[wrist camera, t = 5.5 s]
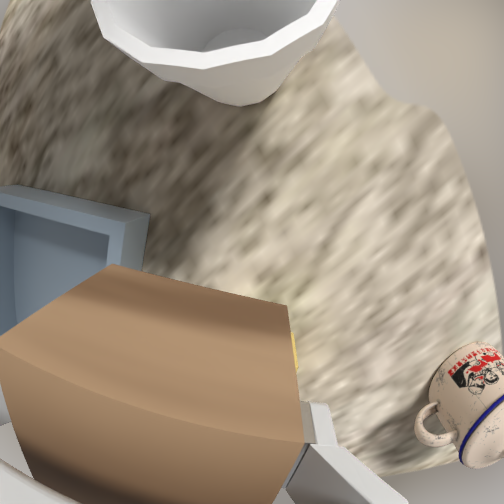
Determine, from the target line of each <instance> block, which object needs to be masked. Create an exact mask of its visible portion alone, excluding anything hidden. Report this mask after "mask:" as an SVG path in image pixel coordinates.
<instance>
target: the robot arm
mask: <svg viewBox="0 0 504 504" xmlns="http://www.w3.org/2000/svg"><path fill="white" fill-rule="evenodd" d="M300 408H301V416H302V424H303V433H304V441H305V443H304V445H303V447H302V449H301V451H300V453H299V455H298V457H297V459H296V461H295V463H294V465H293V467H292V469H291V471H290V472H289V474H288V476H287V478H286V480H285V482H284V483H283V485H282V487H281V488H286V491H287V493H288V494H289V495H290V497H291V498H292V500H293V501H294V502H295V504H408V501H407V500H406V499H405V498H404V497H403V496H401V495H400V494H399V493H397V492H396V491H395V490H394V489H393V488H392V487H390V486H389V485H388V484H387V483H385V482H384V481H383V480H382V479H381V478H380V477H378V476H377V475H376V474H375V473H374V472H372V471H371V470H370V469H369V468H368V467H367V466H365V465H364V464H363V463H362V462H361V461H360V460H359V459H357V458H356V457H355V456H354V455H353V454H352V453H351V452H349V451H348V450H347V449H346V448H345V447H343V446H338V442H337V438H336V434H335V430H334V426H333V422H332V418H331V413H330V409H329V406H328V405H327V404H326V403H319V402H309V401H308V402H304V401H300ZM9 422H11V419H10V416H9V412H8V409H7V406H6V402H5V399H4V395H3V392H2V388H1V384H0V426H1V425H4V424H6V423H9ZM0 504H82V503H80V502H78V501H75V500H73V499H71V498H69V497H67V496H65V495H63V494H61V493H59V492H57V491H55V490H53V489H51V488H49V487H47V486H45V485H43V484H41V483H40V482H38V481H36V480H34V479H33V478H31V477H29V476H27V475H26V474H24V473H22V472H21V471H19V470H17V469H16V468H14V467H13V466H11V465H9V464H8V463H6V462H5V461H3V460H2V459H0Z"/></svg>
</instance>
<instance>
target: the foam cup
mask: <svg viewBox="0 0 504 504" xmlns="http://www.w3.org/2000/svg"><path fill="white" fill-rule="evenodd" d="M339 2H340V0H91V5H92V8H93V11H94V13H95V16H96V19H97V22H98V24H99V27H100V30H101V32H102V35H103V38H105V39H106V40H107V41H109V42H110V43H111V44H113V45H114V46H115V47H117V48H118V49H119V50H120V51H122V52H123V53H124V54H126V55H127V56H128V57H130V58H131V59H133V60H134V61H136V62H137V63H139V64H140V65H142V66H143V67H145V68H146V69H147V70H149V71H150V72H152V73H153V74H155V75H156V76H158V77H159V78H161V79H162V80H163V81H171V82H178V83H181V84H183V85H185V86H187V87H189V88H192V89H194V90H196V91H198V92H200V93H202V94H204V95H206V96H208V97H209V98H211V99H213V100H215V101H217V102H220V103H224V104H229V105H234V106H239V107H241V106H246V105H250V104H256V103H260V102H261V101H263V100H264V99H266V98H267V97H268V96H270V95H271V94H273V93H274V92H276V90H277V89H278V88H279V87H280V85H281V84H282V83H283V81H284V80H285V78H286V77H287V76H288V74H289V73H290V72H291V70H292V69H293V68H294V66H295V65H296V64H297V62H298V61H299V60H300V58H301V57H302V56H304V55H305V54H307V53H309V52H310V51H312V50H314V48H315V46H316V45H317V43H318V41H319V40H320V38H321V36H322V34H323V33H324V31H325V29H326V27H327V26H328V24H329V22H330V21H331V19H332V17H333V16H334V14H335V12H336V10H337V7H338V5H339Z"/></svg>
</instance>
